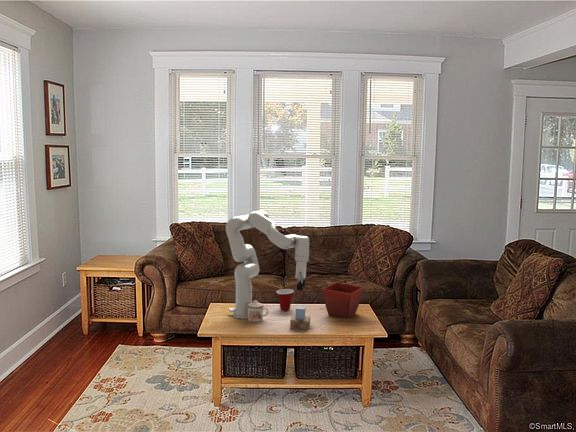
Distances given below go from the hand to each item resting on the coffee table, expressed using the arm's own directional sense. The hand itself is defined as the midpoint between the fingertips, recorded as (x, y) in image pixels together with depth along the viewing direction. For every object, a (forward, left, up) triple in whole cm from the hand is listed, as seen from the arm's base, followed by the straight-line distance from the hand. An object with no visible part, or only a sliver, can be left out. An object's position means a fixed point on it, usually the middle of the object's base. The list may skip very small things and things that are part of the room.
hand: (300, 288), depth 302 cm
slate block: (0, 0, -17) cm, 17 cm away
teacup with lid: (-26, +7, -22) cm, 35 cm away
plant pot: (+22, +29, -23) cm, 43 cm away
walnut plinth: (0, 0, -22) cm, 22 cm away
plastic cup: (-14, +32, -22) cm, 41 cm away
